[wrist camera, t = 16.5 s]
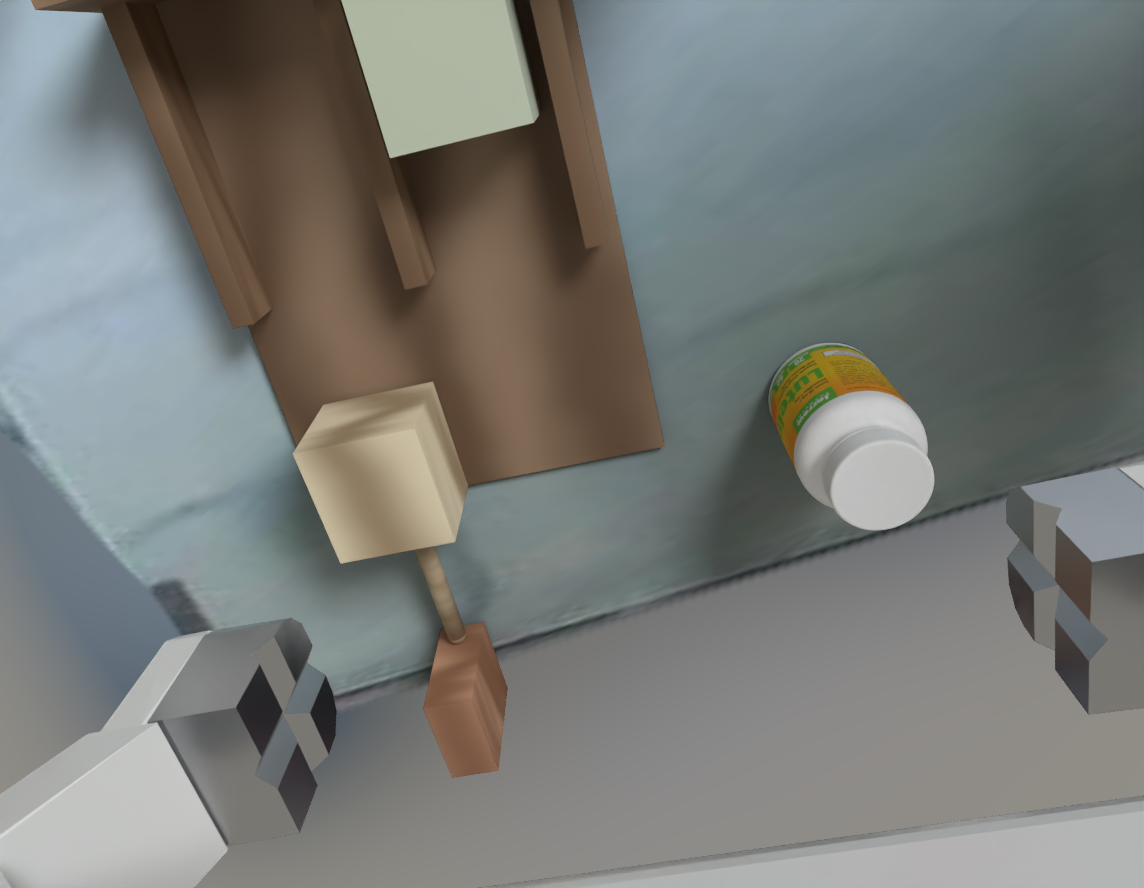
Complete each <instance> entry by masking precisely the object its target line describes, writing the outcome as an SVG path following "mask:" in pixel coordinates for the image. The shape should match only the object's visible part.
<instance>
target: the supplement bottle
mask: <svg viewBox="0 0 1144 888" xmlns="http://www.w3.org/2000/svg"><path fill="white" fill-rule="evenodd" d="M768 400H769V409H770V413H771V416H772V419H773V422H774V424H775V426H776V428H777V431H778V433H779V435H780V437H781V440H782V442H783V444H784V446H785V448H786V450H787V453H788V455H789V457H790V459H791V461H792V464H793V466H794V468H795V470H796V472H797V474H798V477H799V478H800V480H801V482H802V484H803V485H804V487H805V488H806V490H807V491H808V492H809V493H810V494H811V495H812V496H813V497H814V498H815V499H816V500H818V501H819V502H821V503H822V504H824V505H826V506H828V507H831V508H833V509H834V510H835V511H836V512H837V514H838V515H839V516H840V517H841V518H842V519H843V520H845V521H846V522H847V523H849V524H851V525H853V526H855V527H858V528H861V529H866V530H886V529H890V528H894V527H897V526H900V525H902V524H904V523H906V522H908V521H909V520H911V519H912V518H914V517H915V516H916V515H917V514H918V513H920V511H921V510H922V509H923V508H924V507H925V505H926V504H927V503H928V501H929V499H930V497H931V494H932V492H933V488H934V471H933V467H932V465H931V463H930V461H929V459H928V457H927V452H928V443H927V436H926V432H925V429H924V427H923V425H922V423H921V421H920V419H919V418H918V416H917V415H916V413H915V412H914V411H913V409H912V408H911V407H910V406H909V404H908V403H907V402H906V401H905V400H904V399H903V397H902V396H901V395H900V394H899V393H898V392H897V390H896V389H895V388H894V387H893V386H892V384H891V383H890V382H889V381H888V380H887V379H886V377H885V376H884V375H883V374H882V372H881V371H880V370H879V369H878V367H877V366H876V365H875V364H874V363H873V362H872V360H870V359H869V358H868V357H867V356H866V355H865V354H864V353H862V352H861V351H859V350H858V349H856V348H854V347H851V346H849V345H845V344H841V343H820V344H815V345H812V346H809V347H806V348H804V349H802V350H800V351H798V352H796V353H795V354H793V355H792V356H791V357H789V358H788V359H787V360H786V361H785V362H784V363H783V364H782V365H781V367H780V368H779V369H778V371H777V372H776V374H775V376H774V378H773V380H772V383H771V386H770V390H769V398H768Z"/></svg>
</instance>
